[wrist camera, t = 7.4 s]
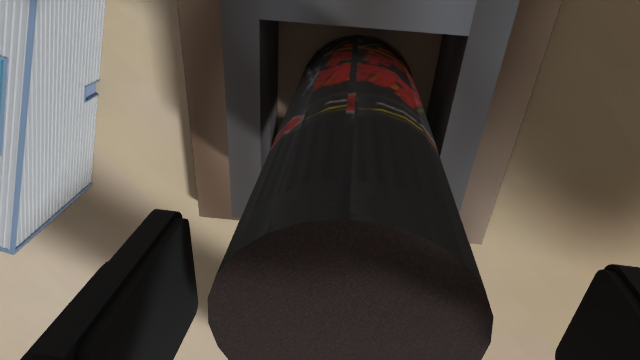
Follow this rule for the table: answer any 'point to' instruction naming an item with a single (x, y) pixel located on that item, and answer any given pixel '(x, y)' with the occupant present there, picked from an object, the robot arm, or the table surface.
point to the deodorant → (351, 229)
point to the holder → (384, 24)
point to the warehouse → (46, 110)
